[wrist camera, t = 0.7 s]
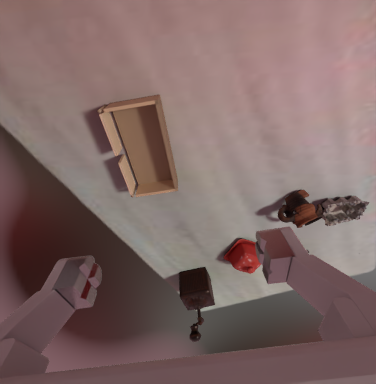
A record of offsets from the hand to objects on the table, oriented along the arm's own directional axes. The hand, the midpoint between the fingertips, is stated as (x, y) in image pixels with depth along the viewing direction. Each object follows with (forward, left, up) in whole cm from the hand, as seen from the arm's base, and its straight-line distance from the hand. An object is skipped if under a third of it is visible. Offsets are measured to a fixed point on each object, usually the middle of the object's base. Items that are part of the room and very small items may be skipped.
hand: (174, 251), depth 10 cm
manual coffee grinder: (+66, -4, -38) cm, 76 cm away
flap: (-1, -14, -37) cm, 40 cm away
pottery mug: (+31, +27, -38) cm, 56 cm away
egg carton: (+38, +42, -38) cm, 68 cm away
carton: (+9, -8, -37) cm, 39 cm away
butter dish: (+51, +14, -38) cm, 65 cm away
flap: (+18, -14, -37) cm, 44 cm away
